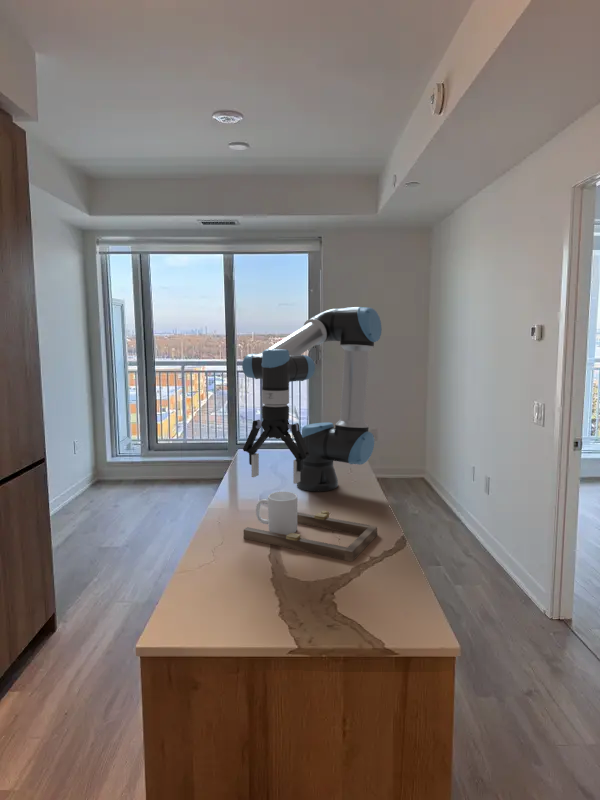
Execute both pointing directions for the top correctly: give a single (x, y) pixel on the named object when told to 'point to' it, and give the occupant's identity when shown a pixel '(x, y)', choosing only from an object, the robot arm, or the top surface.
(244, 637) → the top surface
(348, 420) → the robot arm
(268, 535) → the track
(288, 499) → the cup
